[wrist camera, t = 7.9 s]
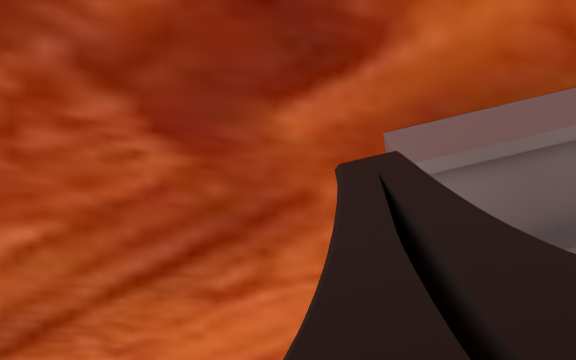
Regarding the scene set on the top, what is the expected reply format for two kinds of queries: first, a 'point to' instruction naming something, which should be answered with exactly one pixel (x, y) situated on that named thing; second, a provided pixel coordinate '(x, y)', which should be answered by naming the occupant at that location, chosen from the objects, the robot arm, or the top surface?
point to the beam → (506, 162)
